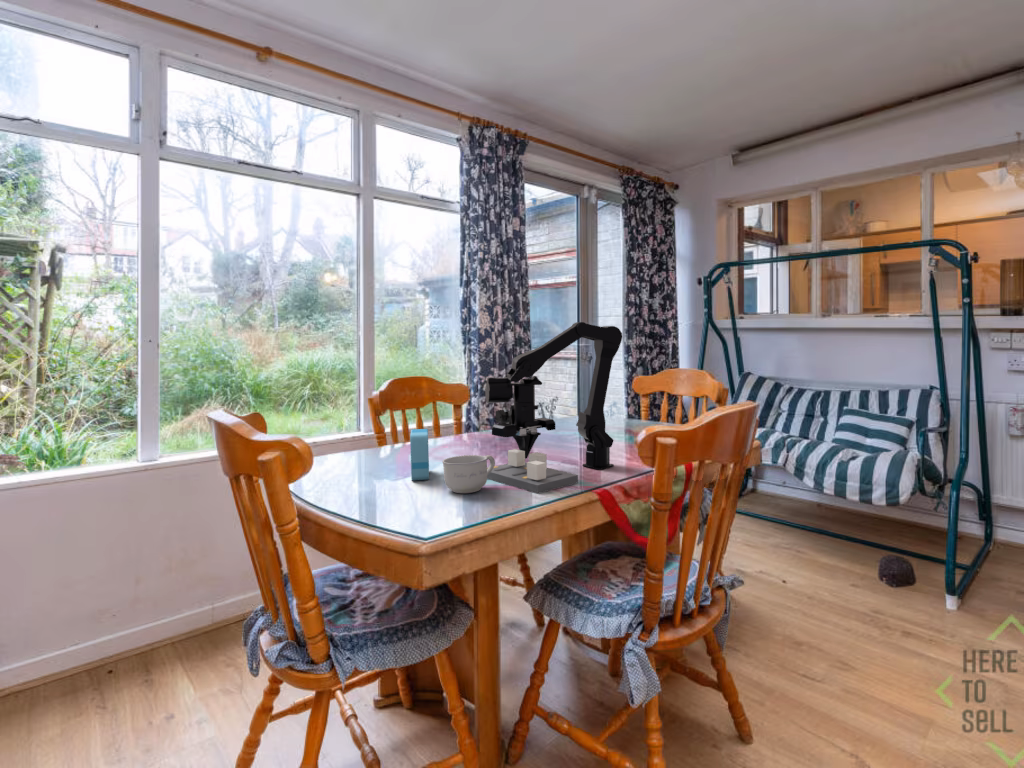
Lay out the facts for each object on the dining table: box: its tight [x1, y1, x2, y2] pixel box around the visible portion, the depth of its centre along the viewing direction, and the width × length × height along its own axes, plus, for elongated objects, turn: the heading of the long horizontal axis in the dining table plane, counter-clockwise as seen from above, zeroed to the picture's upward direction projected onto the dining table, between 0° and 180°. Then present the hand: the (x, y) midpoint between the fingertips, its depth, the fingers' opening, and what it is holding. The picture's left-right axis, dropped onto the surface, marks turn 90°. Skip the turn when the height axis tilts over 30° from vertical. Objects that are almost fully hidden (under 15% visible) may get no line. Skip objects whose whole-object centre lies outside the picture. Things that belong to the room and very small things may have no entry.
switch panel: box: [487, 461, 579, 494], centre depth 150 cm, size 14×22×2 cm, turn 41°
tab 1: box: [507, 448, 526, 467], centre depth 156 cm, size 3×4×4 cm
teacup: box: [442, 454, 496, 494], centre depth 141 cm, size 14×11×8 cm
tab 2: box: [526, 461, 546, 480], centre depth 142 cm, size 3×4×4 cm
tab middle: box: [528, 451, 548, 469], centre depth 152 cm, size 3×4×4 cm
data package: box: [409, 428, 430, 482], centre depth 155 cm, size 12×4×12 cm, turn 8°
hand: (524, 458), depth 158 cm, fingers closed
